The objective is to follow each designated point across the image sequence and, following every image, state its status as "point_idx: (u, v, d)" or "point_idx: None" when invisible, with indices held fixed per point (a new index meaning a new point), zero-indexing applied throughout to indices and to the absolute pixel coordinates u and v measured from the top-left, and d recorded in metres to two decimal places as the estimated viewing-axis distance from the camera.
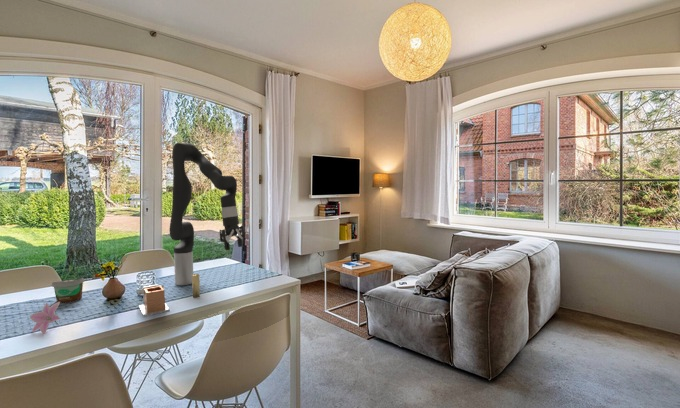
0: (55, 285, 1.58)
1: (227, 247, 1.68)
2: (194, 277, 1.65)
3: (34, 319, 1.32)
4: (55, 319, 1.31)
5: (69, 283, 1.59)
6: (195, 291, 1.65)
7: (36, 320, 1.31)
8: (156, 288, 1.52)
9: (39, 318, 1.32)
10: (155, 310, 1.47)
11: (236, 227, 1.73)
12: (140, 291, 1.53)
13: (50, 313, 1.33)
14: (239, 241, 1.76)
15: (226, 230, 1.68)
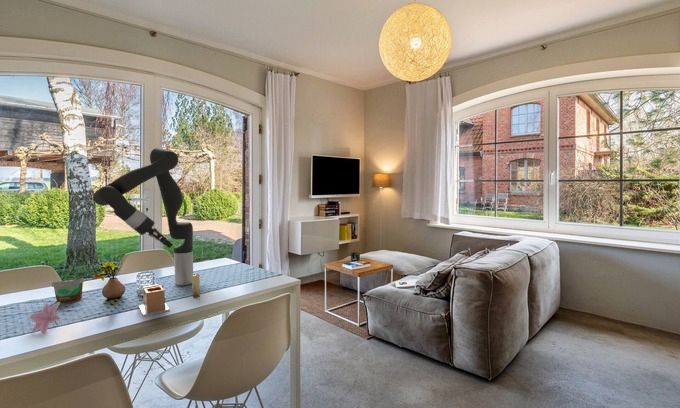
0: (55, 285, 1.58)
1: None
2: (194, 277, 1.65)
3: (34, 319, 1.31)
4: (55, 319, 1.31)
5: (69, 283, 1.59)
6: (195, 291, 1.65)
7: (36, 320, 1.31)
8: (156, 288, 1.52)
9: (39, 319, 1.32)
10: (155, 310, 1.47)
11: (149, 233, 1.51)
12: (140, 291, 1.53)
13: (50, 313, 1.33)
14: None
15: None
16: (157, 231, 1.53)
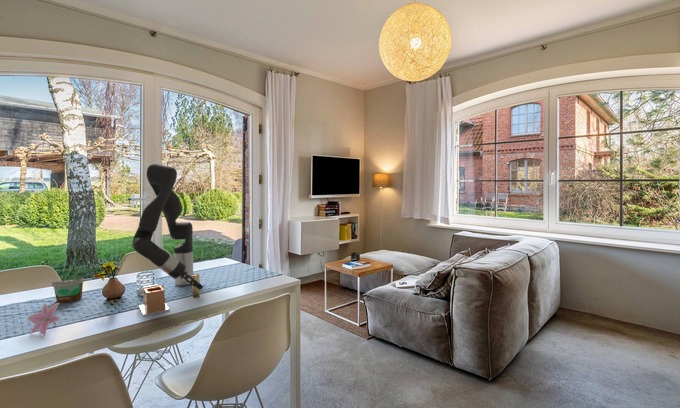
0: (55, 285, 1.58)
1: None
2: (194, 277, 1.65)
3: (32, 320, 1.30)
4: (54, 320, 1.30)
5: (69, 283, 1.59)
6: (195, 291, 1.65)
7: (35, 321, 1.30)
8: (156, 288, 1.52)
9: (38, 320, 1.31)
10: (155, 310, 1.47)
11: (181, 276, 1.60)
12: (140, 291, 1.53)
13: (49, 314, 1.32)
14: None
15: None
16: (189, 275, 1.63)
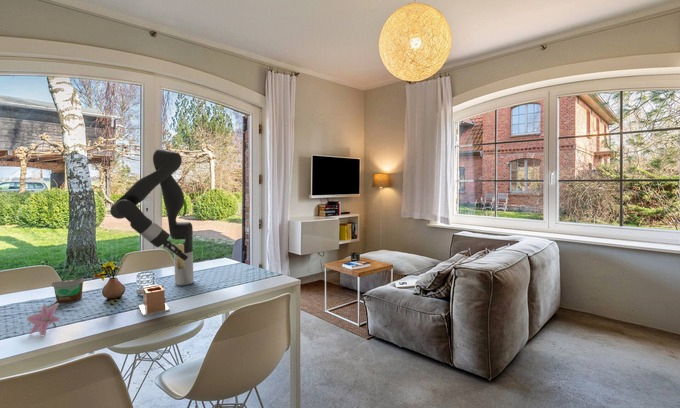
0: (55, 285, 1.58)
1: None
2: (178, 247, 1.57)
3: (32, 321, 1.30)
4: (54, 320, 1.29)
5: (69, 283, 1.59)
6: (180, 261, 1.57)
7: (34, 322, 1.30)
8: (156, 288, 1.52)
9: (37, 320, 1.30)
10: (155, 310, 1.47)
11: (164, 245, 1.52)
12: (140, 291, 1.53)
13: (48, 315, 1.31)
14: None
15: None
16: (173, 244, 1.55)
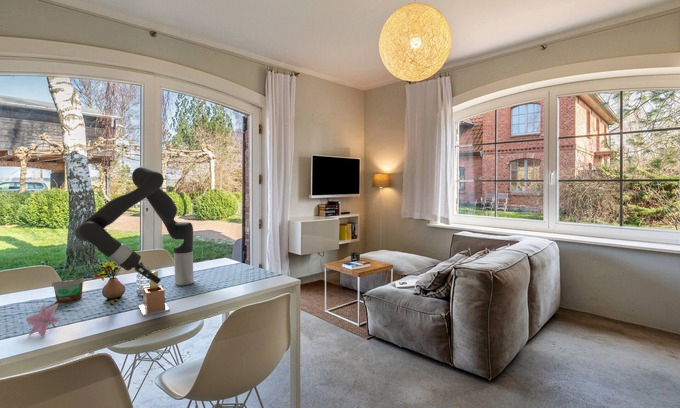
0: (55, 285, 1.58)
1: None
2: None
3: (31, 322, 1.29)
4: (54, 321, 1.29)
5: (69, 283, 1.59)
6: (153, 290, 1.48)
7: (33, 323, 1.29)
8: None
9: (36, 321, 1.29)
10: (155, 310, 1.47)
11: (135, 268, 1.43)
12: (140, 291, 1.53)
13: (47, 316, 1.31)
14: None
15: None
16: (144, 266, 1.44)
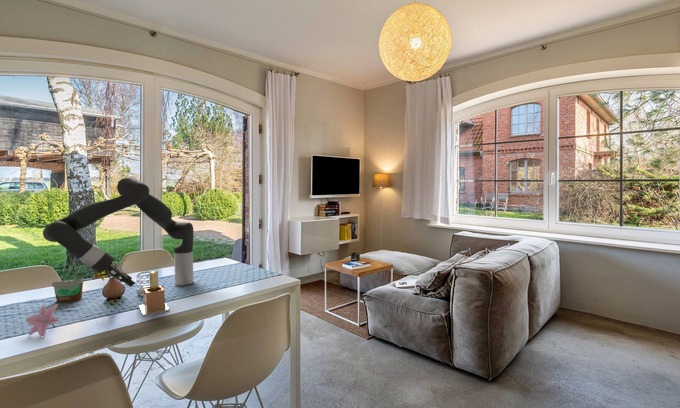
0: (55, 285, 1.58)
1: None
2: (151, 275, 1.47)
3: (30, 322, 1.29)
4: (54, 321, 1.29)
5: (69, 283, 1.59)
6: (153, 290, 1.48)
7: (33, 323, 1.29)
8: None
9: (36, 321, 1.29)
10: (155, 310, 1.47)
11: (108, 271, 1.37)
12: (140, 291, 1.53)
13: (47, 316, 1.31)
14: None
15: None
16: (117, 268, 1.38)
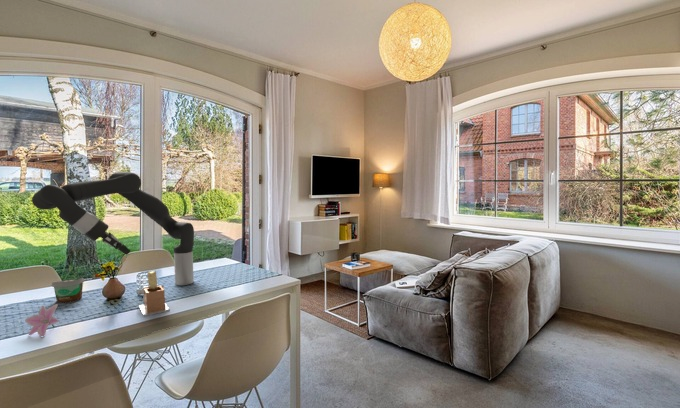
0: (55, 285, 1.58)
1: None
2: (150, 275, 1.47)
3: (30, 323, 1.28)
4: (53, 322, 1.28)
5: (69, 283, 1.59)
6: None
7: (32, 323, 1.28)
8: None
9: (36, 322, 1.29)
10: (155, 310, 1.47)
11: (103, 238, 1.34)
12: (140, 291, 1.53)
13: (47, 316, 1.30)
14: None
15: None
16: (112, 236, 1.36)
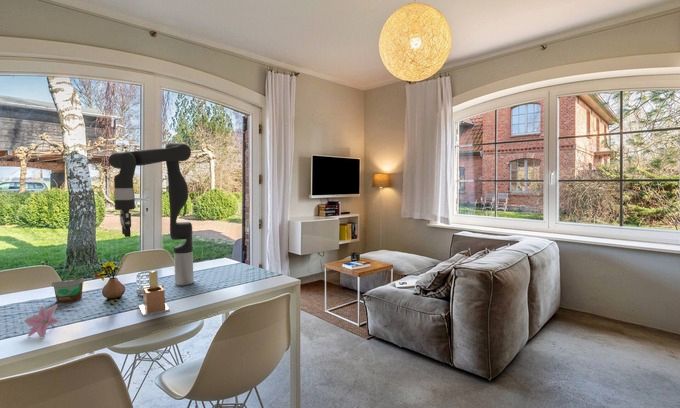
0: (55, 285, 1.58)
1: None
2: (151, 274, 1.48)
3: (30, 323, 1.28)
4: (53, 322, 1.28)
5: (69, 283, 1.59)
6: (152, 290, 1.48)
7: (32, 324, 1.28)
8: None
9: (35, 322, 1.28)
10: (155, 310, 1.47)
11: (122, 213, 1.49)
12: (140, 291, 1.53)
13: (46, 317, 1.30)
14: None
15: None
16: None
